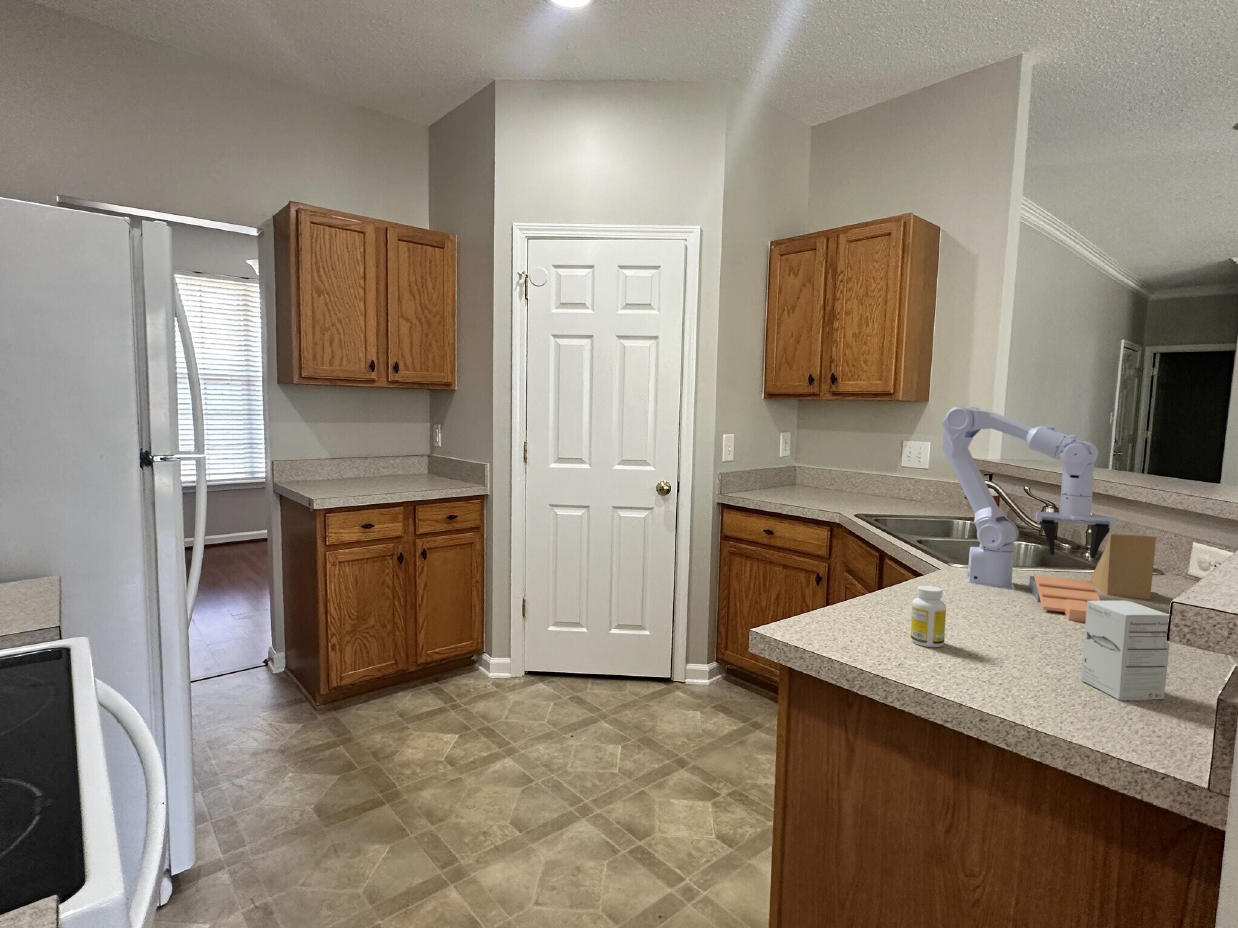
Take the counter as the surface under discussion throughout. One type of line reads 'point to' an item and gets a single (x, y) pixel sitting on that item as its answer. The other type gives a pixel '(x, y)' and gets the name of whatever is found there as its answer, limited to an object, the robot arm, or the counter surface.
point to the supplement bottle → (928, 617)
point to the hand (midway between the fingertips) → (1071, 555)
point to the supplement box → (1125, 650)
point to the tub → (1034, 588)
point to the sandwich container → (1126, 566)
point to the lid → (1066, 595)
